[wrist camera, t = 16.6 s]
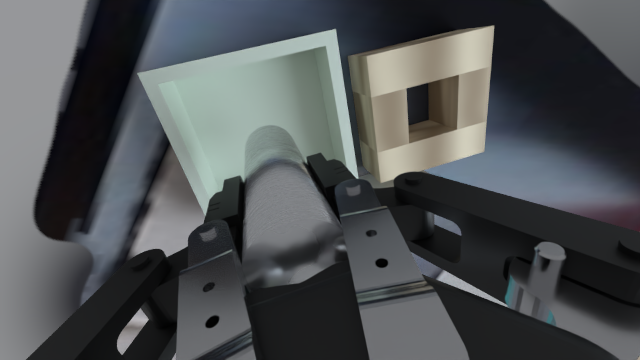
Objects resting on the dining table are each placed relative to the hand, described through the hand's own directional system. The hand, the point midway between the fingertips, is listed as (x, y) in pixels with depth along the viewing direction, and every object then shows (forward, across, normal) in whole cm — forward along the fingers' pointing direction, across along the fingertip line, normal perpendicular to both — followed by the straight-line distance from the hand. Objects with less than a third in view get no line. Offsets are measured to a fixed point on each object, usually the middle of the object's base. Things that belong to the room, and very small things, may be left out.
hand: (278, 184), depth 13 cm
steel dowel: (+5, 0, 0) cm, 5 cm away
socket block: (+11, -13, +1) cm, 17 cm away
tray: (+11, 0, 0) cm, 11 cm away
